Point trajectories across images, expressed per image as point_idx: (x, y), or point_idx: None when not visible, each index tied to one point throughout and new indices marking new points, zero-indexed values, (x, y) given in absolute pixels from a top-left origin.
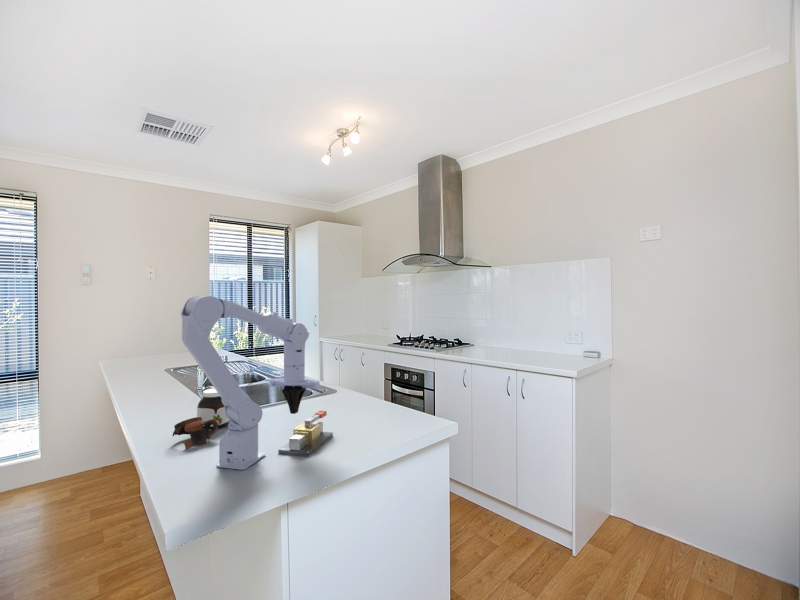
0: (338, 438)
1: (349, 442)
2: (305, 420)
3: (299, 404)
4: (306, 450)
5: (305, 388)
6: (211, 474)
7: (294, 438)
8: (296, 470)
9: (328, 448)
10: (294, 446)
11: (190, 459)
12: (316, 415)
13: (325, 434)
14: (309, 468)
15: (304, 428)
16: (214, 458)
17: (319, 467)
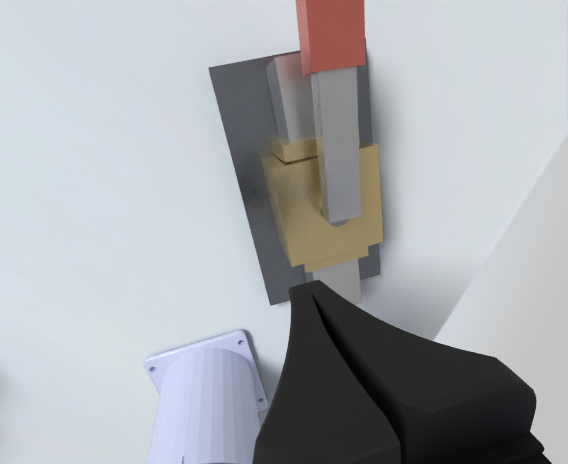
0: (397, 64)
1: (456, 90)
2: (333, 219)
3: (347, 302)
4: (363, 265)
5: (526, 404)
6: None
7: None
8: None
9: (402, 184)
10: None
11: (55, 447)
12: (340, 95)
13: None
14: (411, 317)
15: (335, 235)
16: (115, 411)
17: (432, 302)
